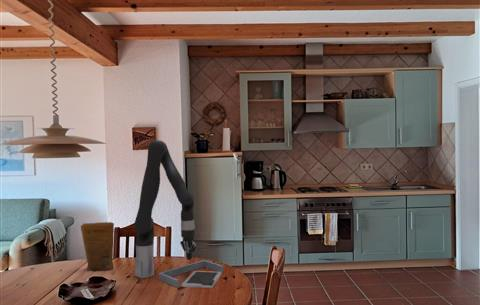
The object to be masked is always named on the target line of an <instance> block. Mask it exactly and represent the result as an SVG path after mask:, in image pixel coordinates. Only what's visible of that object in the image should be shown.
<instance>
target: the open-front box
mask: <svg viewBox="0 0 480 305" xmlns="http://www.w3.org/2000/svg"><path fill="white" fill-rule="evenodd" d="M201 268H208V269H209V270H213V271H215V272H222V273H224V265H222V264H218V263H216V262H212V261H210V260H205V259H204V260H199V261H196V262H193V263H189V264H186V265H182V266H179V267H178V266H177V267H176V268H172V269H169V270H165V271H161V272H158V280H159V281H161V282H163V283H165V284H168V285H171V286H173V287H175V288H179V287H180V282H179V281H180V280H179V279H177V278H175V277H176V276H178V275H182V274H185V273H189V272H193V271H196V270H197V269H198V270H199V269H201Z"/></svg>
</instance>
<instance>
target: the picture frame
mask: <svg viewBox="0 0 480 305" xmlns="http://www.w3.org/2000/svg"><path fill="white" fill-rule="evenodd" d="M222 274H223V272H219V271H215V270H213V271H212V270H209V271H208V270H193V271H192V273H190V275H189V276H188V277H186V279H185V280H184V281H183V282H182V283H181V287H183V288H203V289H205V288H206V289H213V288H214V286H215V285H216V283H217V282H218V280H219V279H220V277H221V276H222Z"/></svg>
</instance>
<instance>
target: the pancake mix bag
mask: <svg viewBox="0 0 480 305" xmlns="http://www.w3.org/2000/svg"><path fill="white" fill-rule="evenodd" d="M114 226H115V223H113V222H111V221H110V222H109V221H107V222H106V221H105V222H94V223H93V222H92V223H91V222H90V223H89V222H88V223H87V222H86V223H82V225H80V231H81V236H82V241H83V242H82V243H83V247H84V252H85V257H86V263H87V265H86V266H87V268H86V270H88V271H95V272H97V271H100V272H101V271H102V272H104V271H105V272H108V271H112V270H114V269H115V268H114V262H113V260H114V258H113V257H114V256H113V255H114V235H115V234H114V233H115V232H114V231H115V230H114V229H115V228H114Z"/></svg>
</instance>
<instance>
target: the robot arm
mask: <svg viewBox="0 0 480 305" xmlns="http://www.w3.org/2000/svg"><path fill="white" fill-rule="evenodd" d="M146 159H147V160H146V167H145V171H144V175H143V178H142V184H141V190H140V197H139V206H138V210H137V213H136V217H135V221H134V222H133V225H134V230H135V231H136V240H135V250H136V251H135V253H136V255H135V256H136V258H134V273H135V274H134V276H135V277H137V278H139V279H146V278H151V277H153V276H154V275H155V262H154V261H155V259H154V258H155V257H154V256H155V255H154V237H155V233H154V232H155V226H154V224H155V223H154V219H153V217H152V215H153V209H154V205H155V204H156V201H157V198H158V195H159V192H160V186H161V185H160V184H161V166H162V168H163V170H164V172H165V176H166V178H167V180H168V182H169V184H170V185H171V187H172V189H173V190H174V192H175V195H176V198H177V200H178V202H179V204H180V205H181V211H180V234H181V235H180V236H181V238H182V241H180V242H179V244H180V246H181V248H182V250H183V252H185V254H186V259H187V260H188V261H189V260H192V257H193V255H192V253H193V252H194V253H195V250H196V249H197V246H198V243H195V239H194V237H195V236H196V231H195V230H196V229H195V227H196V226H195V225H196V224H195V217H194V215H195V214H194V205H195V204H194V203H195V202H194V200H195V198H194V194H193V193H192V192H190V191H189V190H188V189H187V187H186V182H185V181H184V178H183V177H182V175H181V174H180V171H179V170H178V168H177V167H176V165H175V163H174V161H173V158H172V156H171V154H170V151H169V149H168V145H167V144H166V143H165V142H164V141H163V140H157V139H156V140H152V141H151V142H150V143H149V144H148V147H147V158H146Z"/></svg>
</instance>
